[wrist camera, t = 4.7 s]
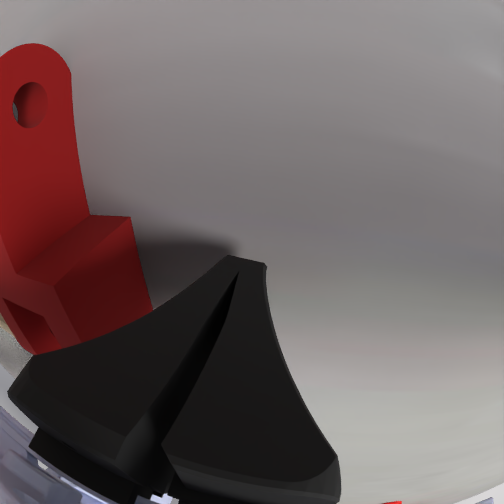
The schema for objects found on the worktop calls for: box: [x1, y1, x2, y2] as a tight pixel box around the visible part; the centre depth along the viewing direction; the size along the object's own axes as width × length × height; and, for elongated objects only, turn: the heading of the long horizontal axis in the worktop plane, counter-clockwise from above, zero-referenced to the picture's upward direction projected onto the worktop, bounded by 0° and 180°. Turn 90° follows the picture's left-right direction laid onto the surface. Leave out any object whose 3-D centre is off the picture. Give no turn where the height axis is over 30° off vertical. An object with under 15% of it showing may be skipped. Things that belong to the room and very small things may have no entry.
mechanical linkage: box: [0, 43, 153, 355], centre depth 10 cm, size 16×7×5 cm, turn 0°
